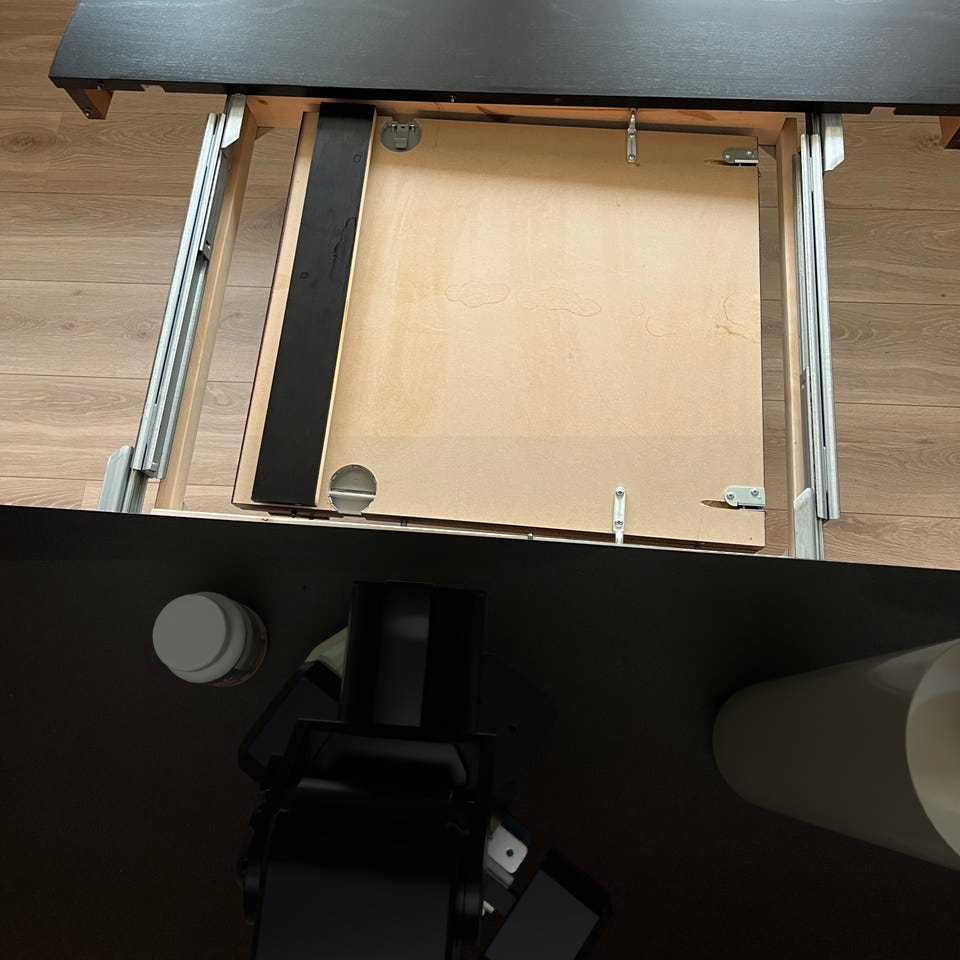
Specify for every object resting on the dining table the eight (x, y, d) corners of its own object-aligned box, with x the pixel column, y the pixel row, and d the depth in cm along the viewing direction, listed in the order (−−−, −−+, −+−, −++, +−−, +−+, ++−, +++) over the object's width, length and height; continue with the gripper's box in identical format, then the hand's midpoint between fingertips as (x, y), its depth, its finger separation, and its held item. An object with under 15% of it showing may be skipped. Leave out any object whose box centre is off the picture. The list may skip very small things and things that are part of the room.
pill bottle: (183, 682, 75) (133, 675, 65) (199, 599, 77) (153, 581, 67) (262, 691, 74) (223, 685, 65) (276, 607, 76) (241, 590, 67)
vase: (825, 823, 69) (1295, 968, 27) (703, 793, 70) (968, 886, 28) (838, 697, 72) (1284, 644, 29) (721, 670, 73) (986, 580, 30)
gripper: (698, 820, 44) (657, 795, 59) (351, 552, 49) (393, 591, 63) (543, 1074, 41) (541, 982, 56) (189, 764, 46) (272, 754, 60)
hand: (435, 813), depth 59 cm, fingers closed on stick, 2 cm apart
